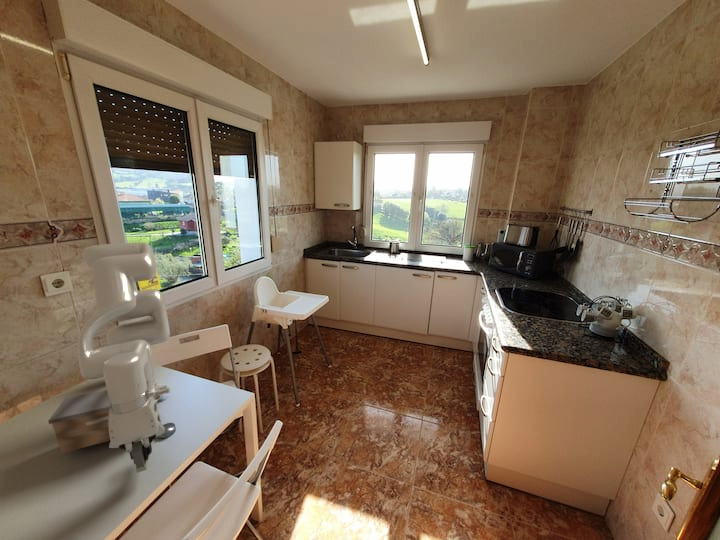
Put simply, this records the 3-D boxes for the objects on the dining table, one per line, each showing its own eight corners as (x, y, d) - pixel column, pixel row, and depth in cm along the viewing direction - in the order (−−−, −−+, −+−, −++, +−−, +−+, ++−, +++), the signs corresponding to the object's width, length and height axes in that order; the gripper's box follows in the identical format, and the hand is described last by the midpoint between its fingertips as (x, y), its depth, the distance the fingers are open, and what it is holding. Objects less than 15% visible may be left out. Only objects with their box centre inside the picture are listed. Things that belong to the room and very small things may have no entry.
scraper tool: (153, 434, 83) (147, 416, 80) (146, 469, 75) (139, 450, 72) (145, 436, 83) (138, 418, 79) (137, 472, 74) (130, 453, 71)
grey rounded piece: (170, 424, 95) (169, 420, 94) (179, 430, 92) (178, 426, 92) (154, 435, 90) (153, 431, 90) (162, 442, 88) (162, 438, 88)
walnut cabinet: (155, 418, 97) (148, 380, 93) (149, 440, 88) (141, 399, 84) (76, 438, 88) (65, 398, 84) (61, 465, 80) (47, 421, 76)
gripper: (169, 383, 78) (178, 437, 83) (96, 399, 71) (110, 457, 76) (164, 400, 71) (174, 458, 76) (83, 420, 65) (100, 481, 69)
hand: (142, 457), depth 76 cm, fingers closed on scraper tool, 1 cm apart
